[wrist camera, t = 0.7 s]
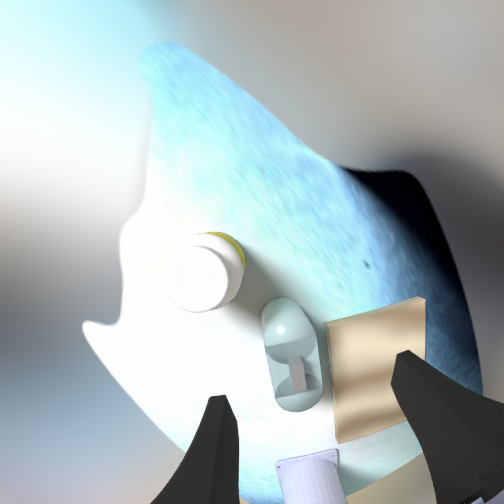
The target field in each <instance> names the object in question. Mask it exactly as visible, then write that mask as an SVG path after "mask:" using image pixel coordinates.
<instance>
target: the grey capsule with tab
mask: <svg viewBox="0 0 504 504" xmlns="http://www.w3.org/2000/svg"><path fill="white" fill-rule="evenodd" d="M261 322H262V331H263V339H264V347H265V352H266V356H267V361H268V366H269V371H270V375H271V380H272V385H273V390H274V394H275V399H276V402H277V404H278V405H279V406H280V407H281V408H283V409H284V410H287V411H290V412H301V411H305V410H308V409H310V408H312V407H313V406H314V405H316V404H317V403H318V401H319V400H320V399H321V396H322V394H323V385H322V376H321V368H320V360H319V352H318V345H317V337H316V332H315V330H314V328H313V326H312V325H311V323H310V321H309V320H308V318H307V317H306V315H305V314H304V312H303V310H302V309H301V307H300V306H299V304H298V303H297V302H295V301H294V300H292V299H290V298H285V297H280V298H276V299H273V300H272V301H270V302H269V303H268V304H267V305H266V306H265V307H264V309H263V311H262V314H261Z"/></svg>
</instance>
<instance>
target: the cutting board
mask: <svg viewBox="0 0 504 504" xmlns="http://www.w3.org/2000/svg"><path fill="white" fill-rule="evenodd" d="M325 330H326V338H327V346H328V355H329V364H330V373H331V383H332V394H333V406H334V419H335V434H336V439H337V442H338V444H342V443H345V442H349V441H352V440H355V439H358V438H361V437H364V436H367V435H370V434H373V433H376V432H379V431H382V430H384V429H387V428H389V427H392V426H395V425H397V424H400V423H402V422H404V421H407V419H406V417H405V415H404V413H403V411H402V410H401V408H400V406H399V404H398V402H397V400H396V397H395V395H394V392H393V389H392V387H391V380H392V375H393V370H394V365H395V360H396V355H397V354H398V353H400V352H403V351H406V350H410V351H412V352H413V353H414V354H416V355H417V356H419V357H420V358H421V359H423V360H424V359H425V299H423V298H421V297H418V296H417V297H414V298H411V299H408V300H405V301H402V302H398V303H395V304H392V305H389V306H385V307H382V308H378V309H375V310H372V311H368V312H364V313H361V314H357V315H353V316H350V317H346V318H342V319H338V320H334V321H330V322H326V323H325Z"/></svg>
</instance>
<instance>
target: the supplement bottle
mask: <svg viewBox="0 0 504 504" xmlns="http://www.w3.org/2000/svg"><path fill="white" fill-rule="evenodd" d="M244 269H245V255H244V252H243V249H242V247H241V246H240V244H239V243H238V242H237V241H236V240H235V239H234V238H233V237H231V236H229V235H227V234H225V233H221V232H207V233H200V234H195V235H191V236H189V237H187V238H185V239H183V240H182V241H181V242H179V243H178V244H177V245H176V246H175V247H174V249H173V250H172V252H171V254H170V256H169V258H168V261H167V264H166V266H165V269H164V275H163V283H164V287H165V290H166V293H167V295H168V296H169V298H170V299H171V301H172V302H173V303H174V304H176V305H177V306H178V307H180V308H181V309H183V310H186V311H189V312H195V313H201V312H206V311H209V310H215V309H218V308H220V307H222V306H224V305H226V304H227V303H229V302H230V301H231V300H232V299H233V298H234V297H235V295H236V294H237V292H238V290H239V288H240V286H241V283H242V278H243V273H244Z"/></svg>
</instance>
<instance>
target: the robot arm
mask: <svg viewBox="0 0 504 504" xmlns="http://www.w3.org/2000/svg"><path fill="white" fill-rule="evenodd" d="M391 387H392V389H393V392H394V395H395V397H396V400H397V402H398V404H399V406H400V408H401V410H402V411H403V413H404V415H405V417H406V419H407V420H408V422H409V424H410V426H411V427H412V429H413V431H414V433H415V435H416V437H417V438H418V441H419V443H420V445H421V447H422V450H423V453H424V455H425V458H426V461H427V464H428V467H429V471H430V474H431V477H432V481H433V485H434V489H435V495H436V501H437V504H504V403H500V402H498V401H494V400H492V399H489V398H487V397H484V396H482V395H480V394H477V393H475V392H473V391H471V390H469V389H467V388H465V387H464V386H462V385H460V384H459V383H457V382H455V381H453V380H452V379H450V378H449V377H447V376H446V375H444V374H443V373H441V372H440V371H438V370H437V369H435V368H434V367H432V366H431V365H430V364H428V363H427V362H425V361H424V360H423V359H421V358H420V357H419V356H417V355H416V354H414V353H413V352H412V351H410V350H406V351H403V352H400V353H398V354H397V355H396V360H395V365H394V370H393V375H392V380H391ZM333 454H334V455H333ZM275 468H276V472H277V475H278V479H279V482H280V486H281V490H282V493H283V497H284V502H285V504H348V503H347V500H346V497H345V494H344V492H343V489H342V486H341V483H340V480H339V477H338V456H337V450H336V449H332V450H328V451H324V452H320V453H316V454H311V455H307V456H302V457H297V458H292V459H287V460H281V461H277V462H275ZM238 481H239V435H238V426H237V420H236V418H235V416H234V413H233V411H232V409H231V406H230V404H229V402H228V399H227V397H226V395H220V396H211V397H210V398H209V400H208V403H207V406H206V409H205V412H204V415H203V417H202V420H201V422H200V425H199V427H198V430H197V432H196V434H195V436H194V439H193V441H192V443H191V445H190V447H189V449H188V451H187V453H186V454H185V456H184V458H183V460H182V462H181V463H180V465H179V467H178V468H177V470H176V472H175V473H174V475H173V476H172V478H171V479H170V480H169V482H168V483H167V484H166V486H165V487H164V488H163V490H162V491H161V492H160V493H159V495H158V496H157V497H156V498H155V499H154V500H153V501H152V502H151V503H150V504H240V501H239V487H238Z"/></svg>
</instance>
